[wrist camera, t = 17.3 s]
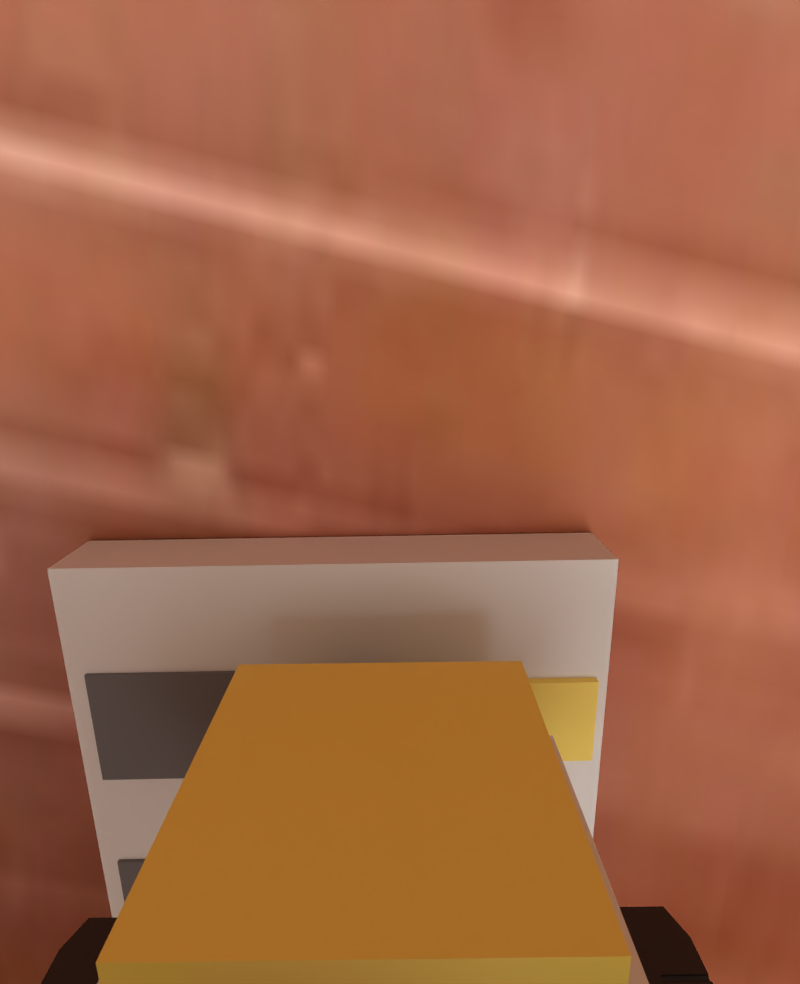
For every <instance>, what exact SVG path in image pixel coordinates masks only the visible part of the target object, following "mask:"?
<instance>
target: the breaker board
mask: <svg viewBox="0 0 800 984" xmlns="http://www.w3.org/2000/svg"><path fill="white" fill-rule="evenodd" d="M618 561H619V559H618V558H617V557H616V556H615V555H614V554H613V553H612V552H611V551H610V550H609V549H608V548H607V547H606V546H605V545H604V544H603V543H602V542H601V541H600V540H599V539H598V538H597V537H596V536H595V535H594V534H593V533H534V534H473V535H412V536H351V537H290V538H229V539H168V540H107V541H88V542H86V543H85V544H83V545H82V546H80V547H79V548H77V549H76V550H74V551H73V552H71V553H70V554H68V555H67V556H65V557H64V558H63V559H61V560H60V561H58V562H57V563H55V564H54V565H52V566H51V567H49V568H48V569H47V571H48V577H49V582H50V587H51V593H52V598H53V604H54V609H55V614H56V620H57V625H58V630H59V636H60V641H61V646H62V652H63V657H64V662H65V668H66V673H67V679H68V684H69V689H70V695H71V700H72V705H73V711H74V716H75V721H76V727H77V732H78V738H79V743H80V748H81V754H82V759H83V764H84V770H85V775H86V780H87V786H88V791H89V796H90V802H91V807H92V813H93V818H94V823H95V829H96V834H97V839H98V845H99V850H100V855H101V861H102V866H103V872H104V877H105V882H106V888H107V893H108V898H109V904H110V909H111V914H112V918H117V917H118V915H119V913H120V911H121V909H122V907H123V905H124V903H125V900H126V898H127V896H128V894H129V892H130V890H131V888H132V886H133V884H134V882H135V880H136V878H137V875H138V873H139V871H140V869H141V867H142V865H143V863H144V861H145V859H146V857H147V855H148V853H149V850H150V848H151V846H152V844H153V842H154V840H155V838H156V836H157V834H158V832H159V830H160V828H161V825H162V823H163V821H164V819H165V817H166V815H167V813H168V811H169V809H170V807H171V805H172V803H173V800H174V798H175V796H176V794H177V792H178V790H179V788H180V786H181V784H182V782H183V780H184V778H185V775H186V773H187V771H188V769H189V767H190V765H191V763H192V761H193V759H194V757H195V755H196V752H197V750H198V748H199V746H200V744H201V742H202V740H203V738H204V736H205V734H206V732H207V730H208V727H209V725H210V723H211V721H212V719H213V717H214V715H215V713H216V711H217V709H218V707H219V705H220V702H221V700H222V698H223V696H224V694H225V692H226V690H227V688H228V686H229V684H230V682H231V680H232V677H233V675H234V673H235V671H236V669H237V667H238V665H239V664H316V663H396V662H477V661H522V664H523V667H524V669H525V672H526V675H527V677H528V680H529V683H530V685H531V688H532V691H533V693H534V696H535V699H536V701H537V704H538V707H539V710H540V712H541V715H542V718H543V720H544V723H545V726H546V728H547V731H548V734H549V736H551V735H553V737H554V740H555V743H556V745H557V748H558V750H559V753H560V755H561V758H562V761H563V763H564V766H565V768H566V771H567V773H568V776H569V779H570V781H571V784H572V786H573V789H574V792H575V794H576V797H577V799H578V802H579V804H580V807H581V810H582V812H583V815H584V817H585V820H586V822H587V825H588V828H589V830H590V833H591V835H592V838H593V831H594V821H595V810H596V799H597V788H598V777H599V767H600V756H601V745H602V734H603V723H604V712H605V702H606V691H607V680H608V669H609V658H610V648H611V637H612V626H613V615H614V604H615V594H616V583H617V572H618Z"/></svg>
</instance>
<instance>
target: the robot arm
mask: <svg viewBox="0 0 800 984" xmlns="http://www.w3.org/2000/svg"><path fill="white" fill-rule="evenodd" d="M550 739H551V742H552V744H553V747H554V750H555V752H556V755H557V758H558V761H559V763H560V766H561V769H562V771H563V774H564V777H565V779H566V782H567V785H568V787H569V790H570V793H571V795H572V798H573V801H574V803H575V806H576V809H577V812H578V814H579V817H580V820H581V822H582V825H583V828H584V830H585V833H586V836H587V838H588V841H589V844H590V846H591V849H592V852H593V854H594V857H595V860H596V862H597V865H598V868H599V871H600V873H601V876H602V879H603V881H604V884H605V887H606V889H607V892H608V895H609V897H610V900H611V903H612V905H613V908H614V911H615V913H616V916H617V919H618V922H619V924H620V927H621V930H622V932H623V935H624V938H625V940H626V943H627V946H628V948H629V951H630V954H631V956H632V957H631V965H630V972H629V980H628V984H713V983H712V982H710V980H709V977H708V973H707V971H706V969H705V967H704V965H703V962H702V960H701V958H700V956H699V954H698V952H697V950H696V948H695V946H694V944H693V942H692V940H691V938H690V936H689V935H688V934H687V933H686V932H685V931H684V930H683V929H682V927H681V926H680V925H679V924H678V923H677V922H676V921H675V920H674V918H673V917H672V916H671V915H670V914H669V913H668V912H667V910H666V909H665V908H664V907H619V905H618V902H617V900H616V897H615V895H614V892H613V889H612V887H611V884H610V882H609V879H608V877H607V874H606V871H605V869H604V866H603V864H602V861H601V859H600V856H599V853H598V851H597V848H596V846H595V843H594V840H593V838H592V835H591V833H590V830H589V828H588V825H587V822H586V820H585V817H584V815H583V812H582V810H581V807H580V804H579V802H578V799H577V797H576V794H575V792H574V789H573V786H572V784H571V781H570V779H569V776H568V773H567V771H566V768H565V766H564V763H563V761H562V758H561V755H560V753H559V750H558V748H557V745H556V743H555V740H554V737H553V735H551V736H550ZM116 919H117V918H88V920H87V921H86V922H85V923H84V924H83V925H82V926H81V927H80V928H79V929H78V930H77V931H76V933H75V934H74V935H73V936H72V937H71V938H70V939H69V940H68V941H67V942H66V943H65V944H64V945H63V947H62V948H61V949H60V950H59V952H58V953H57V955H56V957H55V959H54V961H53V963H52V964H51V966H50V968H49V970H48V972H47V974H46V975H45V977H44V979H43V981H42V983H41V984H100V982H99V977H98V972H97V967H96V961H97V959H98V957H99V955H100V953H101V950H102V948H103V946H104V944H105V942H106V940H107V938H108V936H109V934H110V932H111V930H112V928H113V925H114V923H115V921H116Z"/></svg>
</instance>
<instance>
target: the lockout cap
mask: <svg viewBox="0 0 800 984" xmlns="http://www.w3.org/2000/svg"><path fill="white" fill-rule="evenodd" d="M631 957H632V956H631V954H630V951H629V948H628V946H627V943H626V940H625V938H624V935H623V932H622V930H621V927H620V924H619V922H618V919H617V916H616V913H615V911H614V908H613V905H612V903H611V900H610V897H609V895H608V892H607V889H606V887H605V884H604V881H603V879H602V876H601V873H600V871H599V868H598V865H597V862H596V860H595V857H594V854H593V852H592V849H591V846H590V844H589V841H588V838H587V836H586V833H585V830H584V828H583V825H582V822H581V820H580V817H579V814H578V812H577V809H576V806H575V803H574V801H573V798H572V795H571V793H570V790H569V787H568V785H567V782H566V779H565V777H564V774H563V771H562V769H561V766H560V763H559V761H558V758H557V755H556V752H555V750H554V747H553V744H552V742H551V739H550V736H549V734H548V731H547V728H546V726H545V723H544V720H543V718H542V715H541V712H540V710H539V707H538V704H537V701H536V699H535V696H534V693H533V691H532V688H531V685H530V683H529V680H528V677H527V675H526V672H525V669H524V667H523V664H522V661H477V662H396V663H316V664H239V665H238V667H237V669H236V671H235V673H234V675H233V677H232V680H231V682H230V684H229V686H228V688H227V690H226V692H225V694H224V696H223V698H222V700H221V702H220V705H219V707H218V709H217V711H216V713H215V715H214V717H213V719H212V721H211V723H210V725H209V727H208V730H207V732H206V734H205V736H204V738H203V740H202V742H201V744H200V746H199V748H198V750H197V752H196V755H195V757H194V759H193V761H192V763H191V765H190V767H189V769H188V771H187V773H186V775H185V778H184V780H183V782H182V784H181V786H180V788H179V790H178V792H177V794H176V796H175V798H174V800H173V803H172V805H171V807H170V809H169V811H168V813H167V815H166V817H165V819H164V821H163V823H162V825H161V828H160V830H159V832H158V834H157V836H156V838H155V840H154V842H153V844H152V846H151V848H150V850H149V853H148V855H147V857H146V859H145V861H144V863H143V865H142V867H141V869H140V871H139V873H138V875H137V878H136V880H135V882H134V884H133V886H132V888H131V890H130V892H129V894H128V896H127V898H126V900H125V903H124V905H123V907H122V909H121V911H120V913H119V915H118V917H117V919H116V921H115V923H114V925H113V928H112V930H111V932H110V934H109V936H108V938H107V940H106V942H105V944H104V946H103V948H102V950H101V953H100V955H99V957H98V959H97V961H96V967H97V972H98V977H99V982H100V984H628V980H629V972H630V965H631Z"/></svg>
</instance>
